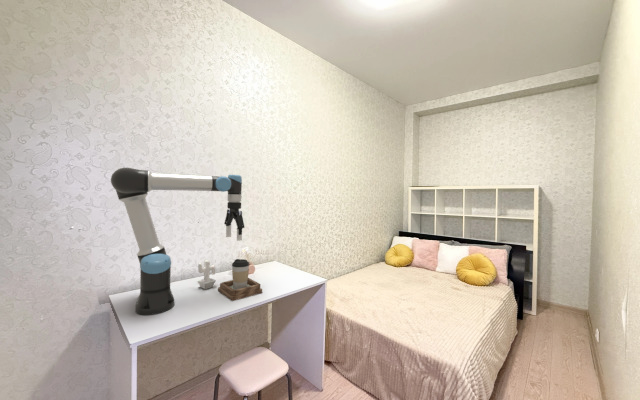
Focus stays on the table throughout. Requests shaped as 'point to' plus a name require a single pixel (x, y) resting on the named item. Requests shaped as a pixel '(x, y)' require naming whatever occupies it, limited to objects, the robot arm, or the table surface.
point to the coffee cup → (240, 273)
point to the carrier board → (239, 290)
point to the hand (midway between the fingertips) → (233, 238)
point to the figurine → (206, 275)
